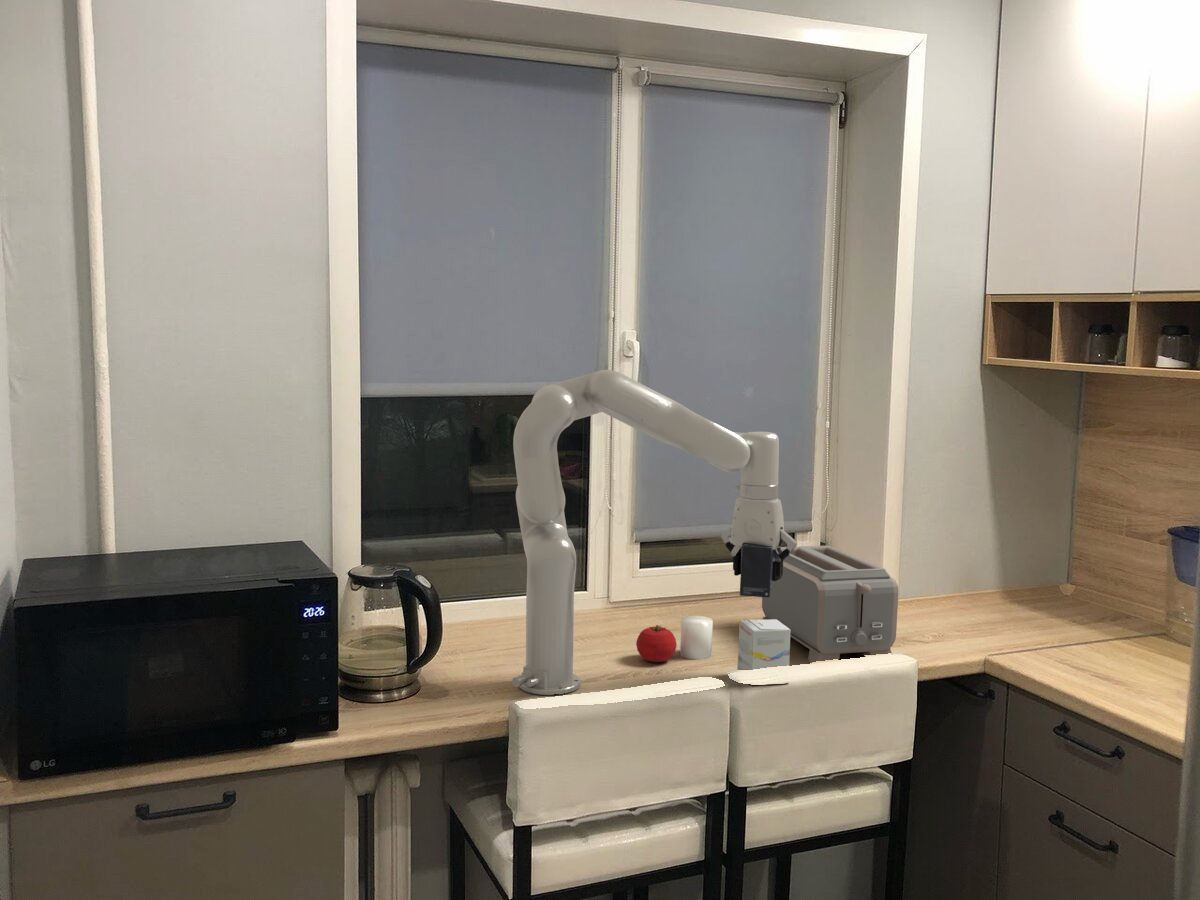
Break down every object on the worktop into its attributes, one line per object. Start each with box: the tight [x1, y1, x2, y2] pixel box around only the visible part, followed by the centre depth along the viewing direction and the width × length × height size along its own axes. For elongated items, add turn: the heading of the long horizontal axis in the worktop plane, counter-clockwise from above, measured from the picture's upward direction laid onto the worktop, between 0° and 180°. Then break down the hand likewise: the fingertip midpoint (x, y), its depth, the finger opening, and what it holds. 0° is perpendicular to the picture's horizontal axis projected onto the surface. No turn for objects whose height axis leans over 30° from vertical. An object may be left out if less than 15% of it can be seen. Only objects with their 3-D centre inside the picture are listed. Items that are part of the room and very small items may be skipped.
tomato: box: [635, 624, 678, 663], centre depth 221 cm, size 9×9×8 cm
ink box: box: [736, 619, 791, 670], centre depth 210 cm, size 9×9×12 cm
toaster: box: [761, 545, 899, 663], centre depth 234 cm, size 19×35×20 cm, turn 15°
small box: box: [739, 543, 774, 598], centre depth 208 cm, size 11×6×10 cm, turn 167°
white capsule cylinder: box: [679, 615, 714, 661], centre depth 226 cm, size 7×7×8 cm
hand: (757, 576), depth 208 cm, fingers closed on small box, 7 cm apart
